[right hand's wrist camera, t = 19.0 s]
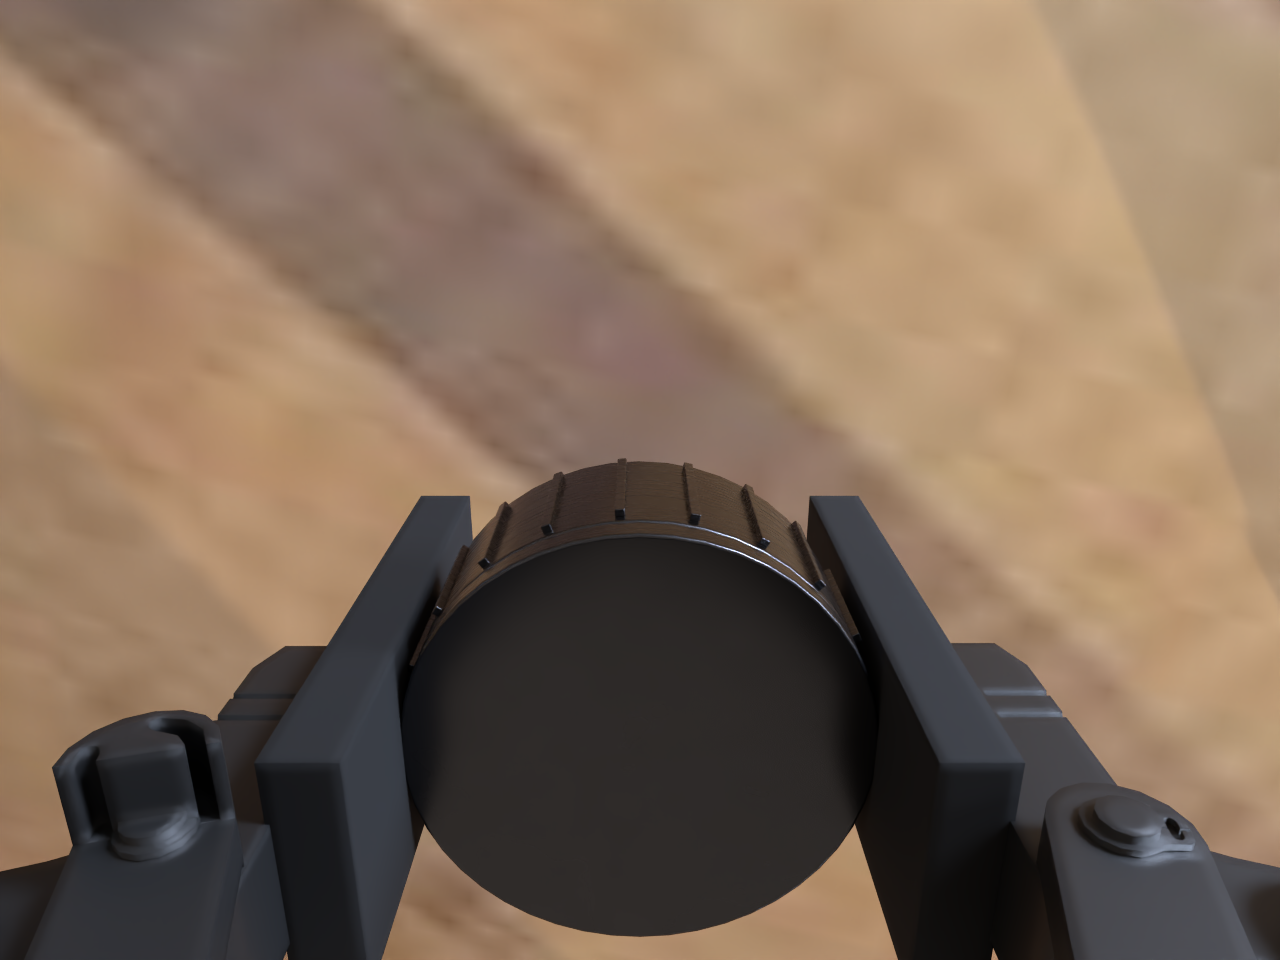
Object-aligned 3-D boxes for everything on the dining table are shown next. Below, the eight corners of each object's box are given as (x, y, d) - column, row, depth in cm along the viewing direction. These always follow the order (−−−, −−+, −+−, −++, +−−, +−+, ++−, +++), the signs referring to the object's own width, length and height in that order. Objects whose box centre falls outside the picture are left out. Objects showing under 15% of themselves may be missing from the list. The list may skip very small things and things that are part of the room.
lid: (909, 709, 13) (965, 826, 10) (573, 867, 14) (560, 1005, 11) (722, 376, 11) (741, 433, 9) (354, 581, 12) (291, 678, 10)
